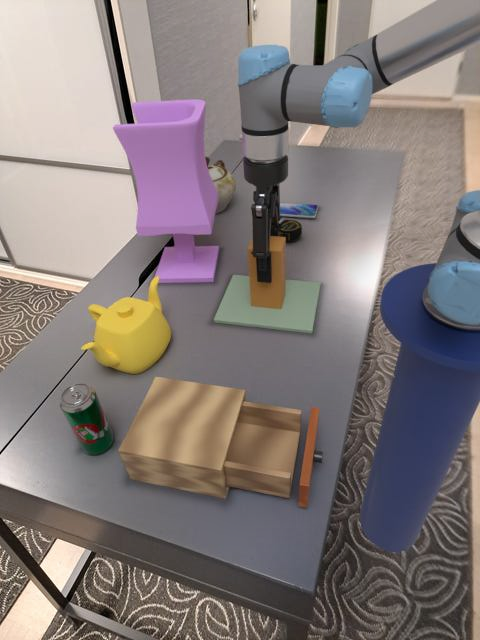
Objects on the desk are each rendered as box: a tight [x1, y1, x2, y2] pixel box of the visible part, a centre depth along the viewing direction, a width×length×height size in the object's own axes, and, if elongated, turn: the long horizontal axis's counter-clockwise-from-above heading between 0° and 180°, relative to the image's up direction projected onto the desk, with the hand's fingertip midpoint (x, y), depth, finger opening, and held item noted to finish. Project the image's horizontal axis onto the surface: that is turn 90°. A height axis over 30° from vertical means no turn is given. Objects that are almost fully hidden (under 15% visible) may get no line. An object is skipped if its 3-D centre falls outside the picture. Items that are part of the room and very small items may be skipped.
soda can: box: [59, 382, 115, 456], centre depth 66 cm, size 5×5×12 cm
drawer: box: [223, 401, 324, 509], centre depth 63 cm, size 15×12×6 cm
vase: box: [112, 98, 220, 284], centre depth 95 cm, size 16×16×35 cm
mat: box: [213, 274, 322, 334], centre depth 94 cm, size 20×16×1 cm
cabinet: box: [117, 376, 247, 500], centre depth 66 cm, size 15×14×8 cm
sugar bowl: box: [205, 156, 237, 214], centre depth 124 cm, size 20×15×15 cm
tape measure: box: [276, 219, 303, 243], centre depth 112 cm, size 7×7×4 cm
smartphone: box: [280, 202, 319, 219], centre depth 124 cm, size 7×1×15 cm
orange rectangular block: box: [247, 236, 287, 309], centre depth 89 cm, size 6×5×14 cm
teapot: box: [80, 276, 172, 375], centre depth 83 cm, size 22×16×11 cm
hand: (268, 269), depth 88 cm, fingers open, 7 cm apart
